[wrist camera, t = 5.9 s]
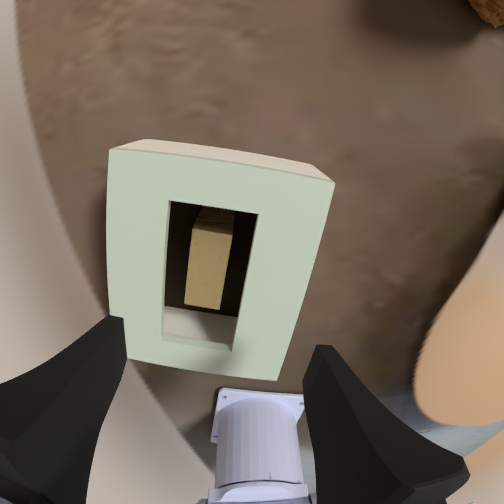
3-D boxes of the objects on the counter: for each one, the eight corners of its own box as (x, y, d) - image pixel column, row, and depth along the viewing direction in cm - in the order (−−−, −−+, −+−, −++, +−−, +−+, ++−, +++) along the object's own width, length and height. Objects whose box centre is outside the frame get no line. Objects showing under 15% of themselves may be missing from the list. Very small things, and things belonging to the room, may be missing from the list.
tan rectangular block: (223, 275, 21) (219, 309, 17) (193, 270, 21) (184, 303, 17) (234, 211, 19) (232, 235, 16) (202, 206, 19) (192, 228, 15)
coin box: (271, 328, 23) (276, 380, 18) (137, 307, 22) (114, 354, 17) (311, 164, 18) (335, 183, 13) (145, 138, 17) (109, 149, 12)
